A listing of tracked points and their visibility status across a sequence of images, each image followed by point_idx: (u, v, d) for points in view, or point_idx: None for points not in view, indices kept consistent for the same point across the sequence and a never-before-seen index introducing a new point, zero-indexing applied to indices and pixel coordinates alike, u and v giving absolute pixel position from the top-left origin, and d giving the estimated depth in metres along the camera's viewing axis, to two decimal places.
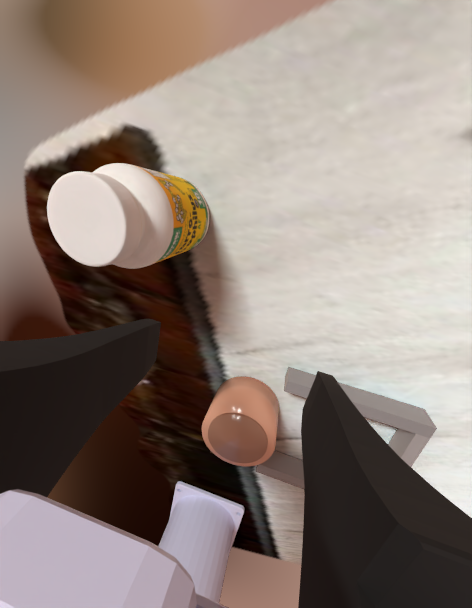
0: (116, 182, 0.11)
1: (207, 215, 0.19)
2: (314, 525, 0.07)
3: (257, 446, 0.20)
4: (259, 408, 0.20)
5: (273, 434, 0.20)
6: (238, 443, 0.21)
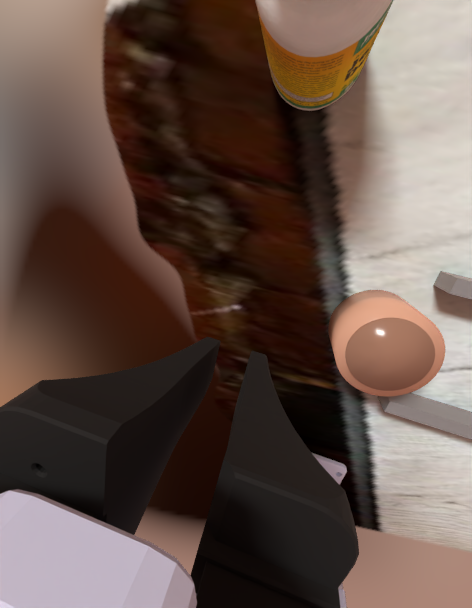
0: None
1: None
2: None
3: (418, 364, 0.16)
4: (421, 313, 0.15)
5: (443, 346, 0.15)
6: (390, 361, 0.16)
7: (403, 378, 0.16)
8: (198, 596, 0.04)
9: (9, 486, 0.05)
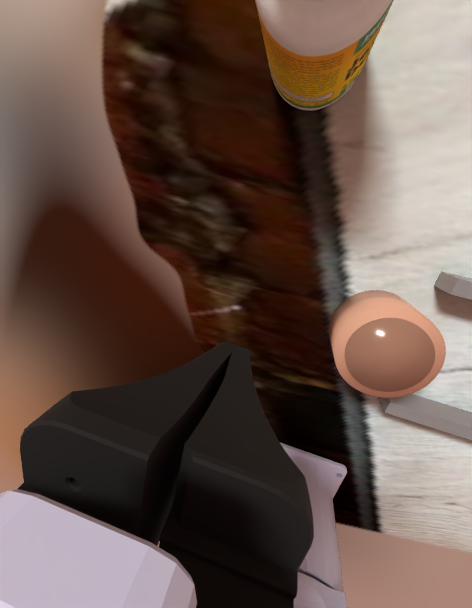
0: None
1: None
2: None
3: (417, 366, 0.15)
4: None
5: (443, 348, 0.15)
6: (389, 362, 0.16)
7: (402, 379, 0.16)
8: None
9: None
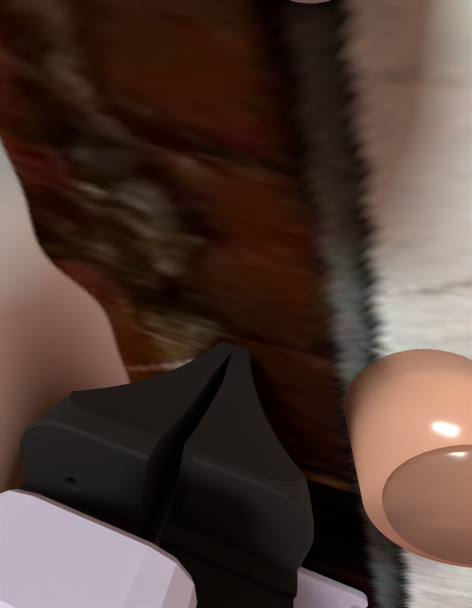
0: None
1: None
2: None
3: None
4: None
5: None
6: None
7: None
8: None
9: None
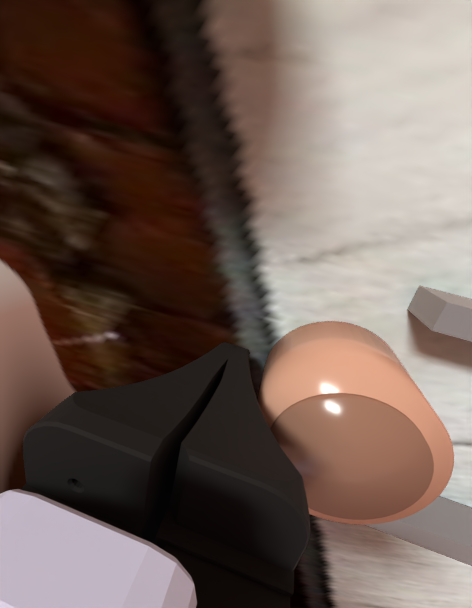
0: None
1: None
2: None
3: (395, 489, 0.08)
4: (419, 393, 0.08)
5: (450, 464, 0.08)
6: (344, 472, 0.08)
7: (364, 504, 0.08)
8: None
9: None
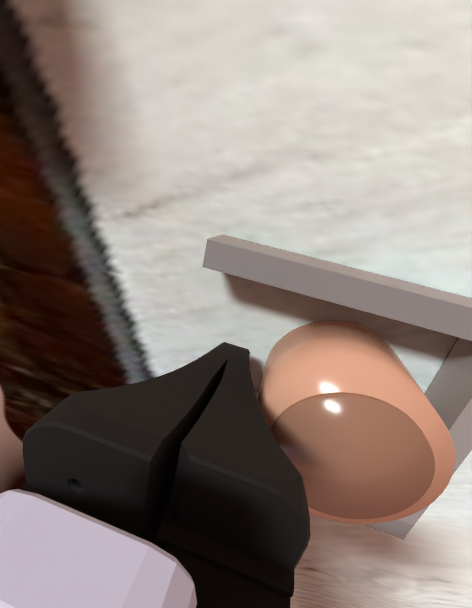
0: None
1: None
2: None
3: (397, 488, 0.08)
4: (420, 392, 0.08)
5: (451, 463, 0.08)
6: (345, 472, 0.08)
7: (365, 503, 0.08)
8: None
9: None
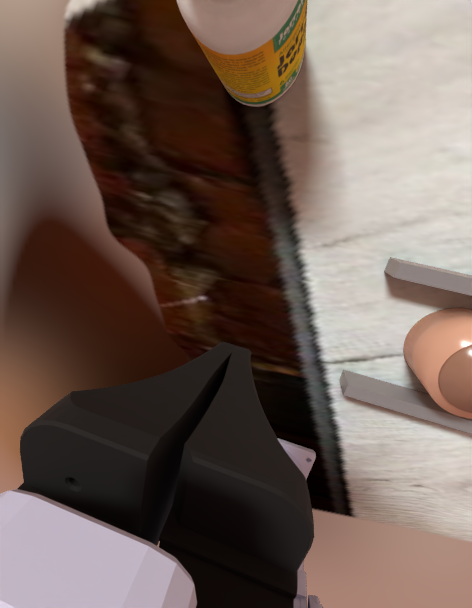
0: None
1: (305, 40, 0.15)
2: None
3: None
4: None
5: None
6: None
7: None
8: None
9: None
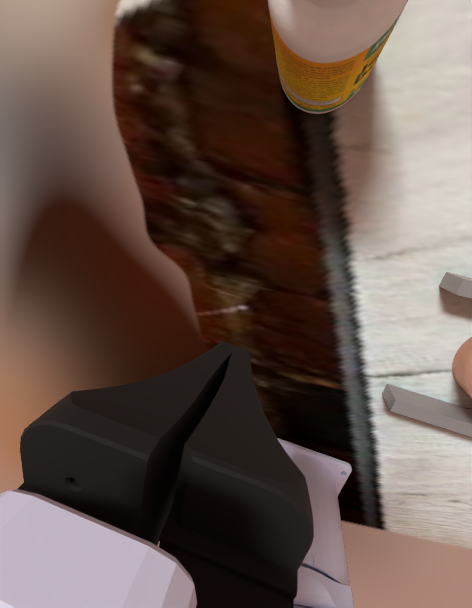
0: None
1: None
2: None
3: None
4: None
5: None
6: None
7: None
8: None
9: None
